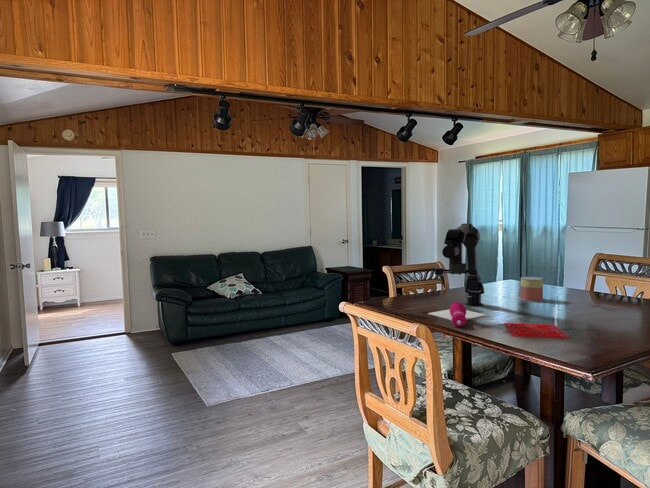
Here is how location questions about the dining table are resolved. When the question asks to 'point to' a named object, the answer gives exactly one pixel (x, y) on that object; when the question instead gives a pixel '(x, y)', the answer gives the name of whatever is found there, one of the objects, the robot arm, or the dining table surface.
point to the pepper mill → (458, 314)
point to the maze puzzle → (530, 333)
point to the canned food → (532, 289)
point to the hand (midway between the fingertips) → (455, 289)
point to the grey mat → (447, 315)
